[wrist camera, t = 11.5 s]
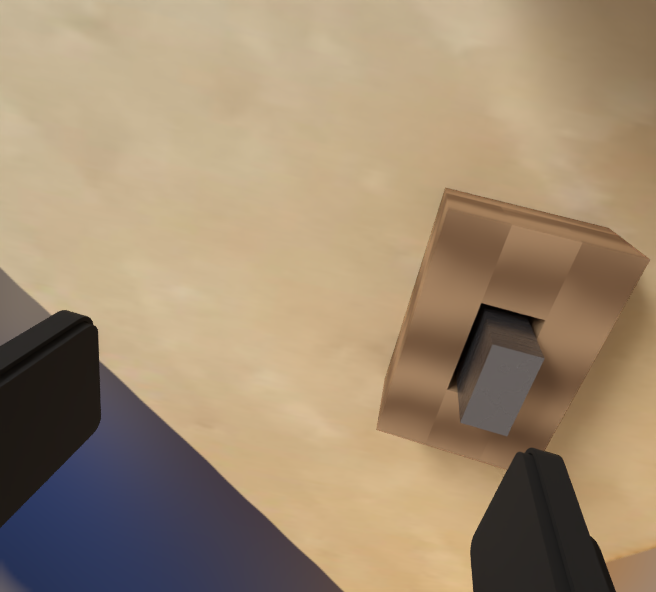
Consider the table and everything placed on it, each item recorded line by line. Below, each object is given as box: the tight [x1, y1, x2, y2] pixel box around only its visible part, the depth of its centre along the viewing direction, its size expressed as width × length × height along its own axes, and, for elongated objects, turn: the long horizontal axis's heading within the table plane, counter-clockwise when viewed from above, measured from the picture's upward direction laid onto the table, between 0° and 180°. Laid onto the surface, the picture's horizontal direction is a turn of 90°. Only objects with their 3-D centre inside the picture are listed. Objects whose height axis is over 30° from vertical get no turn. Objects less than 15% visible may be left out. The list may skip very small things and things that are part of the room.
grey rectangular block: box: [456, 303, 545, 436], centre depth 32 cm, size 6×3×9 cm, turn 169°
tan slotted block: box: [376, 188, 650, 470], centre depth 34 cm, size 18×12×7 cm, turn 168°
